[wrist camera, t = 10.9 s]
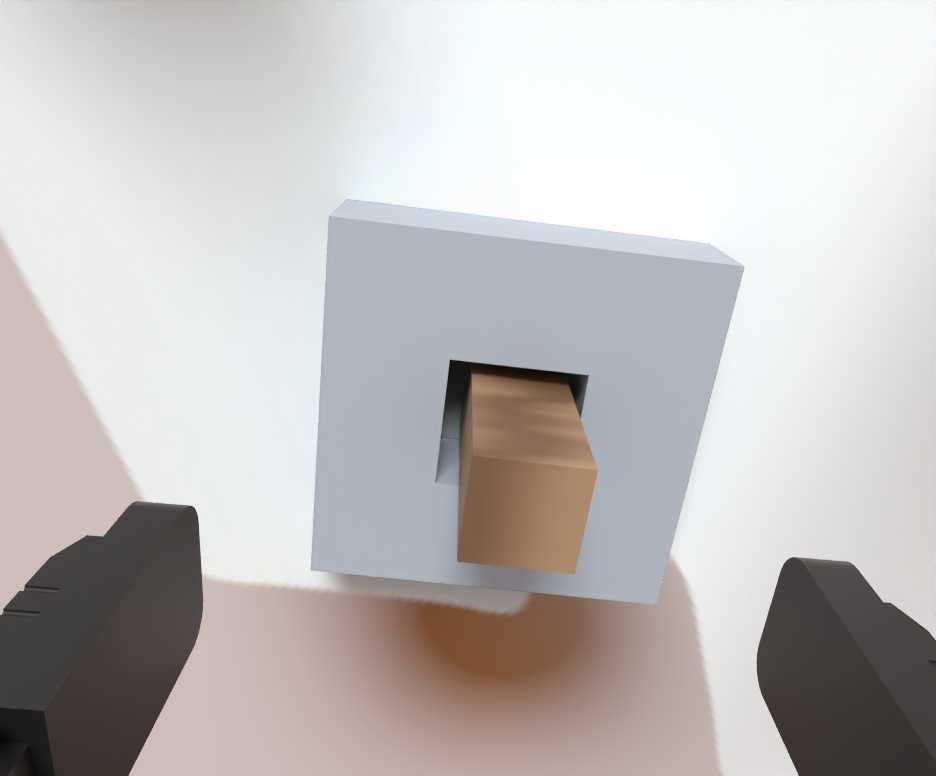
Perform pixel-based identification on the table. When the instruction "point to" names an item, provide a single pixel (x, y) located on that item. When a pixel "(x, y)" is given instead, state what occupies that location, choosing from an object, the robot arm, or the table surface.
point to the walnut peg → (522, 470)
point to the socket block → (517, 345)
